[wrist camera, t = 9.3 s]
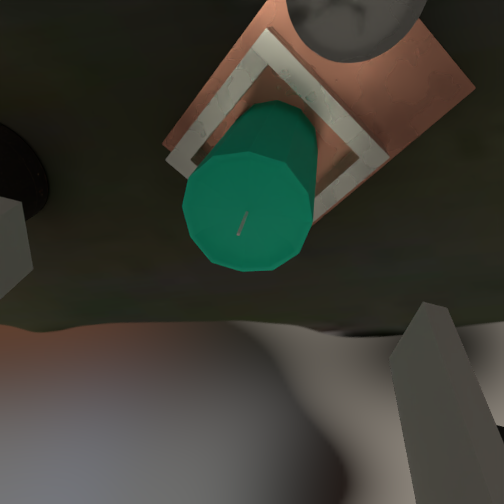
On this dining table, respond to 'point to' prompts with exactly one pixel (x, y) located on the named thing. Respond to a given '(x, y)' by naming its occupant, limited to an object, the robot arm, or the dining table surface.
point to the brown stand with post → (330, 86)
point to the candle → (255, 190)
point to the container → (21, 174)
